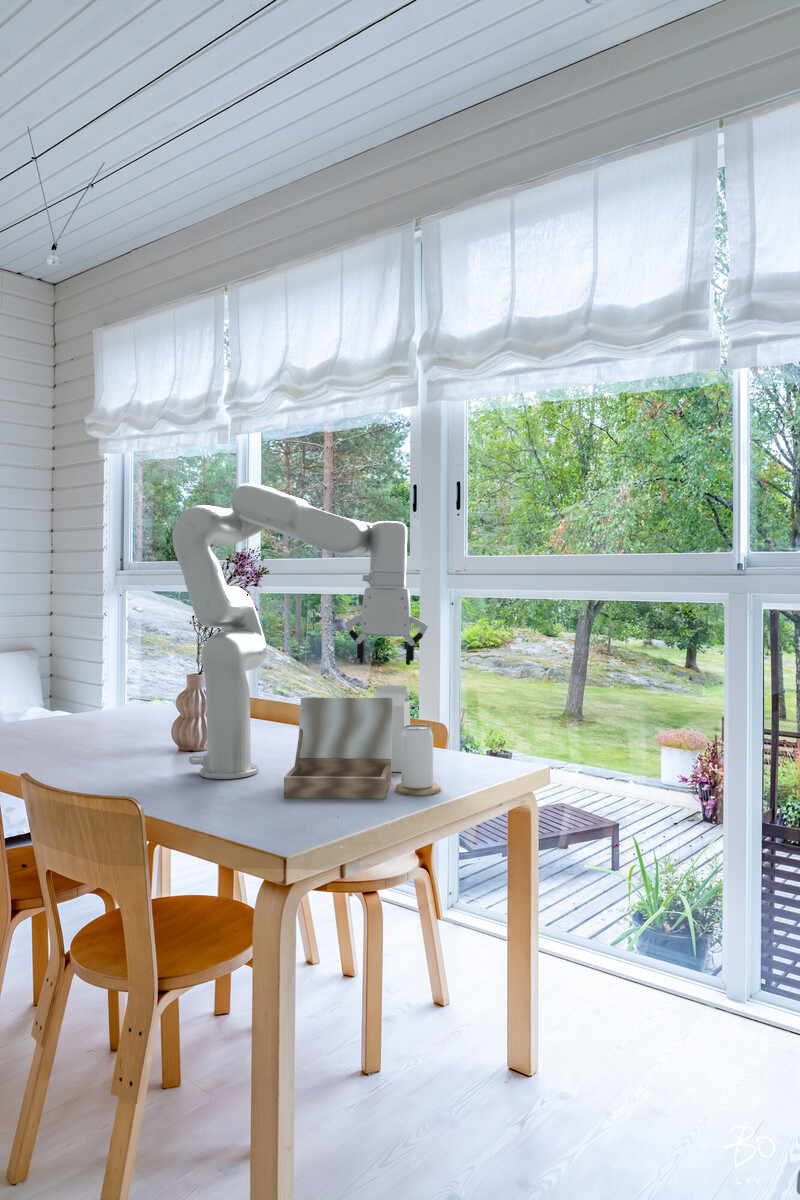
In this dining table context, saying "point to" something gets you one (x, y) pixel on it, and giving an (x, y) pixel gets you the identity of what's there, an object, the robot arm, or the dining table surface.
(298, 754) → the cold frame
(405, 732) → the can
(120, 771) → the dining table surface
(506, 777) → the dining table surface
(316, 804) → the dining table surface
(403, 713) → the milk carton
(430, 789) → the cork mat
